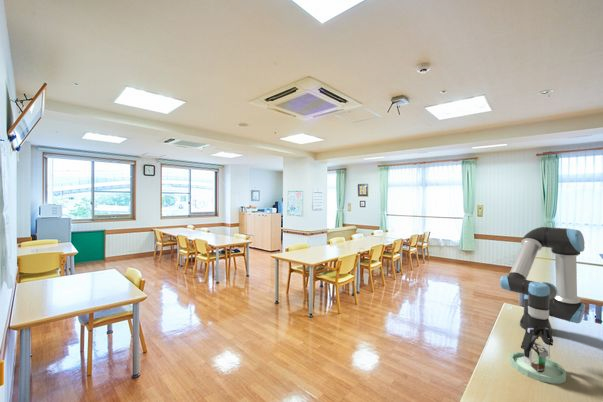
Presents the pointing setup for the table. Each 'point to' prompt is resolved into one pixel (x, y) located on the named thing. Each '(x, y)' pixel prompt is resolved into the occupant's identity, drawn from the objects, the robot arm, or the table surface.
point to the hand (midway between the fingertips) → (536, 360)
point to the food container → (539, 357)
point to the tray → (550, 374)
